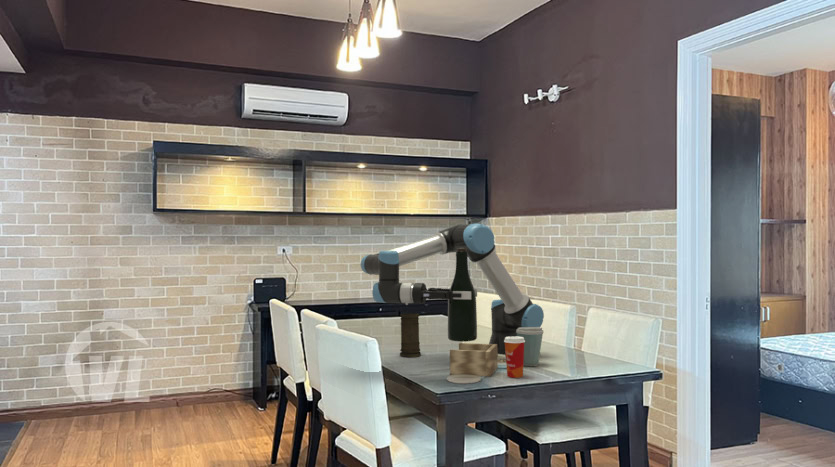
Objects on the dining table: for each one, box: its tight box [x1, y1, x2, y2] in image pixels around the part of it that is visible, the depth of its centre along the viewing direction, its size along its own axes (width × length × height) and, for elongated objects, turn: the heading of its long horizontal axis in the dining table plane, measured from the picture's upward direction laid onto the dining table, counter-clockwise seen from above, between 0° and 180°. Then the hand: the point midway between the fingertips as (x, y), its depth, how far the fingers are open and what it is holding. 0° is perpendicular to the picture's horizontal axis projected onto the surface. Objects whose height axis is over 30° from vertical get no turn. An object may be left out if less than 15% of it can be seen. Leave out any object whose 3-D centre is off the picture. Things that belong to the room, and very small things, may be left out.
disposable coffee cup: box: [516, 327, 544, 367], centre depth 252 cm, size 11×11×15 cm
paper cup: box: [504, 336, 525, 379], centre depth 232 cm, size 8×8×14 cm
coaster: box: [446, 374, 482, 385], centre depth 228 cm, size 12×12×1 cm
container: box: [399, 312, 422, 358], centre depth 275 cm, size 9×9×18 cm
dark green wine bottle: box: [447, 248, 478, 343], centre depth 230 cm, size 10×10×33 cm
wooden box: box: [449, 342, 499, 377], centre depth 242 cm, size 15×16×9 cm
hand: (474, 294), depth 228 cm, fingers closed on dark green wine bottle, 9 cm apart
